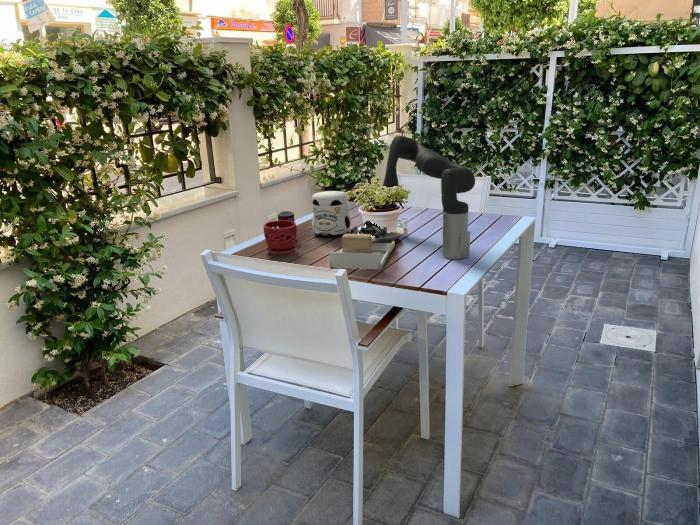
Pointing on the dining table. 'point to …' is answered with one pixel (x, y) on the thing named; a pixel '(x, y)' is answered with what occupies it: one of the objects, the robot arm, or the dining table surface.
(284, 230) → the plant pot
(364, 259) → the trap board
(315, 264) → the dining table surface
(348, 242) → the oak block
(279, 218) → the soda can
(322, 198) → the milk container
